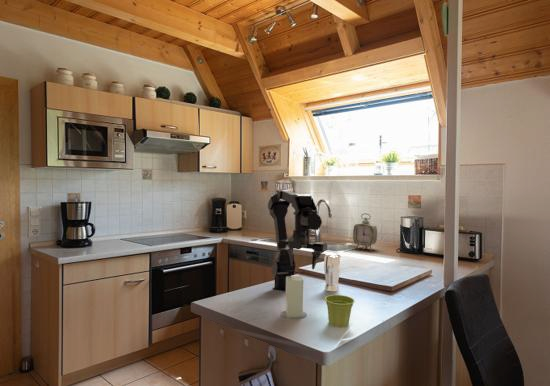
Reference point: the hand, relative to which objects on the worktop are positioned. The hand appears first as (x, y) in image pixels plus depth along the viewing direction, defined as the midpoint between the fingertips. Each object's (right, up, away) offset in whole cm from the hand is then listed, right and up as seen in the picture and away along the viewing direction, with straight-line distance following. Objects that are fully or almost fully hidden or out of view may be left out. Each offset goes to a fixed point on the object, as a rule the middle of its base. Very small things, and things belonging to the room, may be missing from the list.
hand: (301, 268), depth 145 cm
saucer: (-4, -14, -15) cm, 21 cm away
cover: (-4, -13, -16) cm, 20 cm away
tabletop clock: (+52, -11, +118) cm, 129 cm away
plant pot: (+10, -14, -23) cm, 29 cm away
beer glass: (+14, -13, +17) cm, 26 cm away
